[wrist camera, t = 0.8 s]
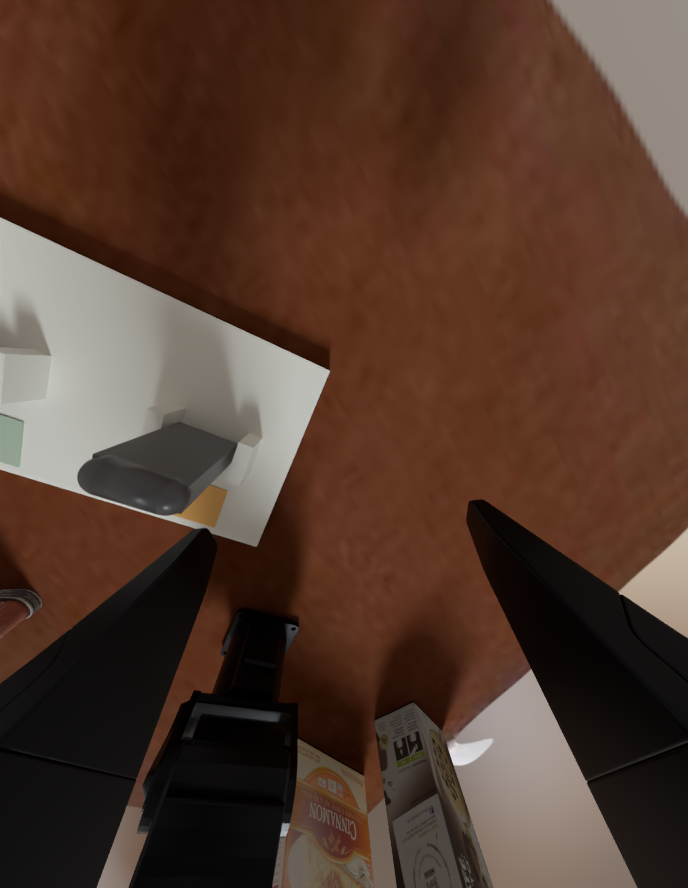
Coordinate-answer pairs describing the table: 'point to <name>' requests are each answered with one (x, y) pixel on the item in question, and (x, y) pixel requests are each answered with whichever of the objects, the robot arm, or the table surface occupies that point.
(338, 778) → the coffeecake box
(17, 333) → the breaker panel
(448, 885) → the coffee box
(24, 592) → the lighter
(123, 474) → the breaker lever
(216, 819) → the robot arm
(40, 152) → the table surface
